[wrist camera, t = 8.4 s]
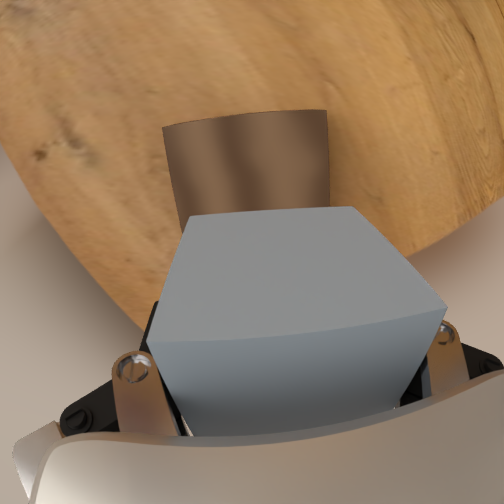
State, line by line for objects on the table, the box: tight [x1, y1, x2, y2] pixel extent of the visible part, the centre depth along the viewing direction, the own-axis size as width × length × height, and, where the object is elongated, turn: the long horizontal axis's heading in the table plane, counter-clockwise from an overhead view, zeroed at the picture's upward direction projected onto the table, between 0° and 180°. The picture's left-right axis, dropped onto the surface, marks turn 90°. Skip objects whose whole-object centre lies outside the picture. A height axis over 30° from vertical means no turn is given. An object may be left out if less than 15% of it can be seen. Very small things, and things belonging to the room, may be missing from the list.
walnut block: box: [162, 109, 329, 234], centre depth 27 cm, size 14×14×5 cm
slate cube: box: [146, 206, 448, 437], centre depth 9 cm, size 6×6×6 cm
